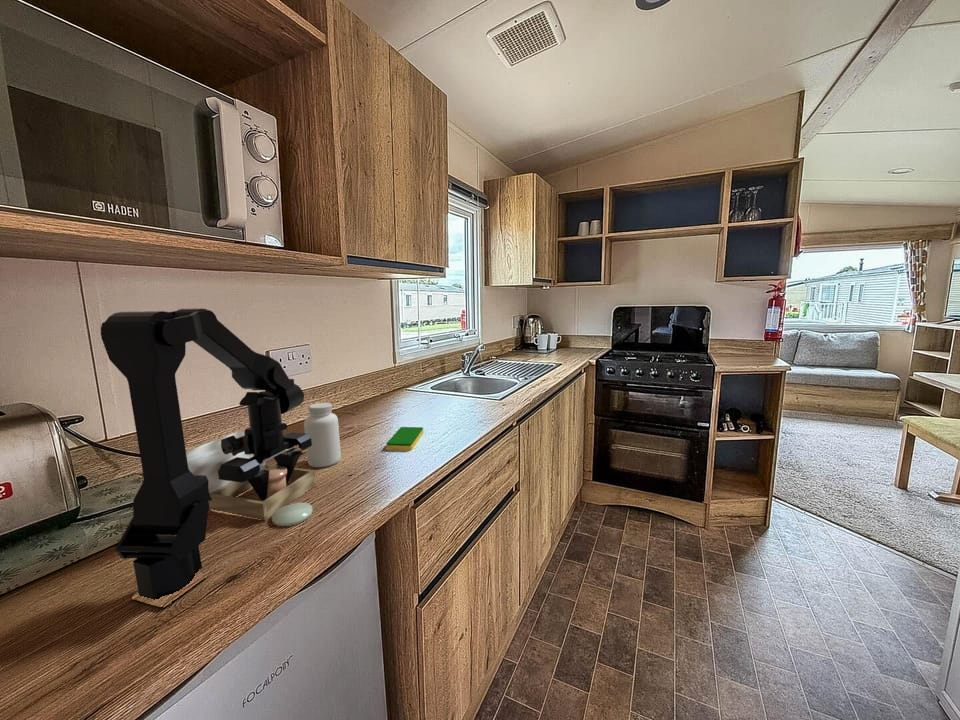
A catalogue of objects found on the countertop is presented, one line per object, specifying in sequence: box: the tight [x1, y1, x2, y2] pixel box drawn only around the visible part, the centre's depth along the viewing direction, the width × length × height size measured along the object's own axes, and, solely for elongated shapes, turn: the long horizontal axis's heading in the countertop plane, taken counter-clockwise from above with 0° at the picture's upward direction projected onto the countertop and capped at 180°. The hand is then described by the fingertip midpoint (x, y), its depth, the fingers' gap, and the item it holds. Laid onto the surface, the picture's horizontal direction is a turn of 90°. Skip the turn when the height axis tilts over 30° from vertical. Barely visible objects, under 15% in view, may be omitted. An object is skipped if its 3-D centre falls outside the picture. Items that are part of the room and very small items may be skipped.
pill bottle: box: [303, 402, 342, 468], centre depth 97 cm, size 8×8×15 cm
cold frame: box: [186, 429, 317, 521], centre depth 80 cm, size 14×20×11 cm
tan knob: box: [259, 465, 288, 501], centre depth 80 cm, size 6×6×6 cm
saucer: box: [271, 502, 314, 527], centre depth 73 cm, size 7×7×1 cm
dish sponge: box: [386, 426, 424, 452], centre depth 111 cm, size 7×14×2 cm, turn 175°
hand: (273, 493), depth 80 cm, fingers closed on tan knob, 5 cm apart
